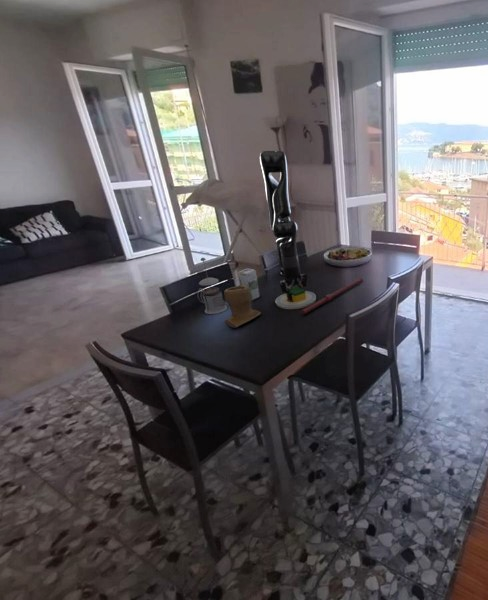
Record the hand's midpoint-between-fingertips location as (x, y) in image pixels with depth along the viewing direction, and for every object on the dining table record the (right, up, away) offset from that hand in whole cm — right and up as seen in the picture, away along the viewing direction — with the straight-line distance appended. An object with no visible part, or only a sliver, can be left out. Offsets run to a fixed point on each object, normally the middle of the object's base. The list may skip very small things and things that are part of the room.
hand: (296, 297), depth 171 cm
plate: (0, -2, +1) cm, 2 cm away
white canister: (-23, 0, +5) cm, 24 cm away
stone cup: (-18, -10, -17) cm, 27 cm away
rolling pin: (+18, 0, +4) cm, 19 cm away
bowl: (+17, +24, +56) cm, 63 cm away
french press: (-36, -6, -7) cm, 37 cm away
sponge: (0, 0, 0) cm, 0 cm away
